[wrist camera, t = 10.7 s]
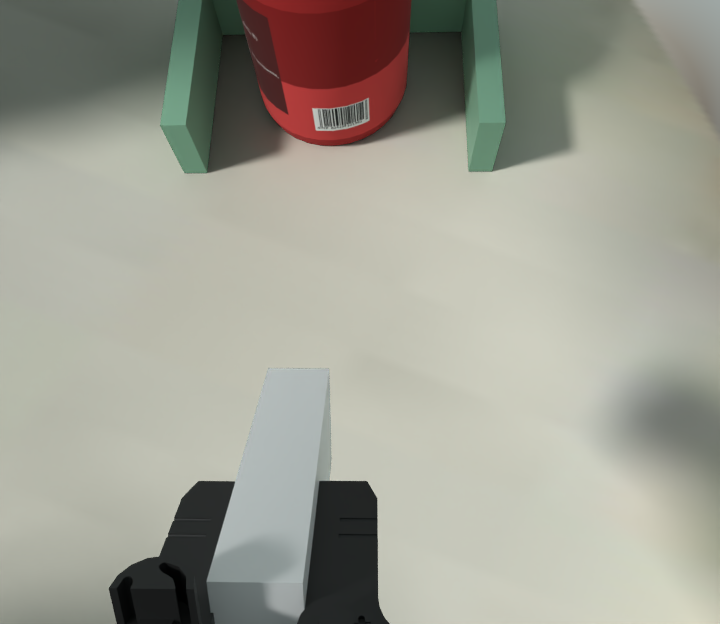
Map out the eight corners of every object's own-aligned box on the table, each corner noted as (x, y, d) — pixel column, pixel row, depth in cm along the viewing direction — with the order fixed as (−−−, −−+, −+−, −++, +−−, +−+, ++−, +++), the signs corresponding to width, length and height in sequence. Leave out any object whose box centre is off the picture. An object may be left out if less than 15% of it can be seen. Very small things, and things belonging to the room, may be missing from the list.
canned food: (434, 78, 36) (456, -116, 26) (343, 177, 34) (326, 10, 24) (327, 13, 38) (307, -191, 27) (234, 104, 36) (175, -81, 25)
